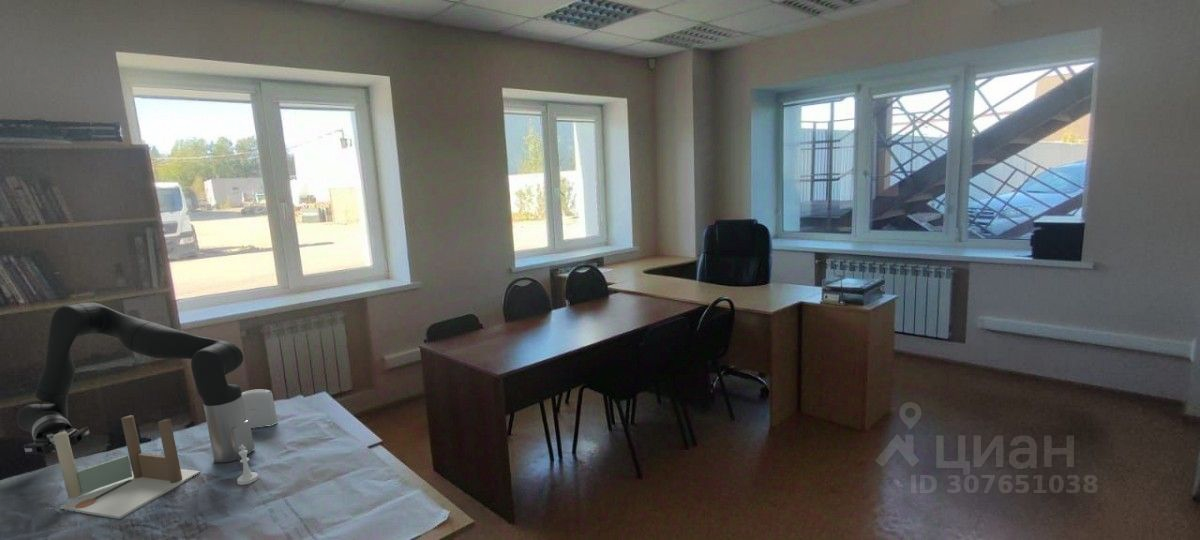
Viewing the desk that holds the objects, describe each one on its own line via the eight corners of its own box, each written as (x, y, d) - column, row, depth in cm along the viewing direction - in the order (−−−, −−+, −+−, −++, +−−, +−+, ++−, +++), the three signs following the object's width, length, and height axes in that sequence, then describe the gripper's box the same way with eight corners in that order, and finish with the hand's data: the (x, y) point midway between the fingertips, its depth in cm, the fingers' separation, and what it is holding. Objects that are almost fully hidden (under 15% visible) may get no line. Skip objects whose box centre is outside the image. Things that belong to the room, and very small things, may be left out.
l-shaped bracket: (131, 474, 152) (118, 416, 149) (133, 477, 150) (119, 418, 147) (67, 496, 143) (52, 434, 139) (69, 499, 141) (53, 437, 138)
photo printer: (239, 431, 178) (233, 394, 176) (245, 425, 182) (239, 389, 180) (274, 427, 180) (268, 390, 177) (279, 421, 184) (273, 385, 181)
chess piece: (248, 485, 146) (242, 450, 144) (232, 484, 147) (226, 449, 145) (263, 475, 150) (257, 440, 149) (247, 474, 151) (241, 439, 150)
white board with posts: (200, 473, 153) (188, 413, 150) (119, 518, 134) (104, 451, 130) (145, 466, 158) (133, 408, 155) (60, 509, 139) (44, 444, 136)
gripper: (14, 428, 146) (23, 446, 136) (81, 409, 156) (95, 426, 146) (21, 454, 148) (30, 475, 137) (87, 434, 158) (100, 452, 147)
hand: (63, 449), depth 141 cm, fingers closed
